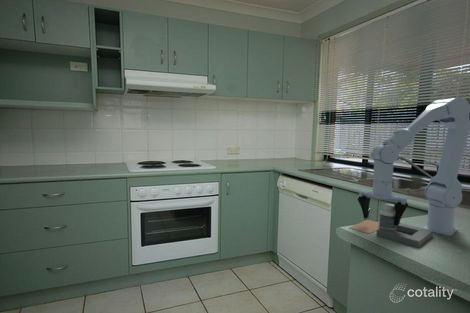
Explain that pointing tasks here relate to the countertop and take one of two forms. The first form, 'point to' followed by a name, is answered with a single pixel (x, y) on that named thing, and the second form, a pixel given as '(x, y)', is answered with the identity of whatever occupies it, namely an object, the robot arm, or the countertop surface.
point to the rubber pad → (366, 226)
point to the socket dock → (415, 240)
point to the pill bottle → (387, 217)
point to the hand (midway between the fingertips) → (380, 221)
